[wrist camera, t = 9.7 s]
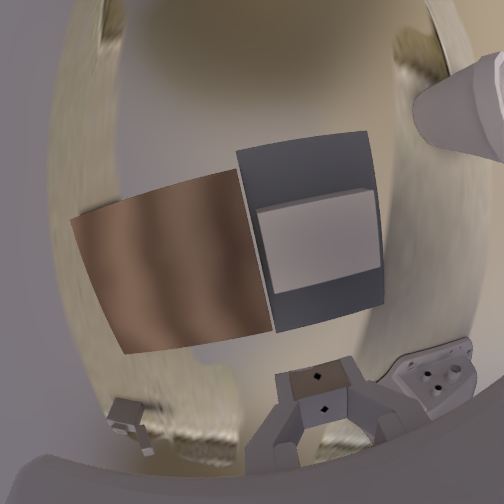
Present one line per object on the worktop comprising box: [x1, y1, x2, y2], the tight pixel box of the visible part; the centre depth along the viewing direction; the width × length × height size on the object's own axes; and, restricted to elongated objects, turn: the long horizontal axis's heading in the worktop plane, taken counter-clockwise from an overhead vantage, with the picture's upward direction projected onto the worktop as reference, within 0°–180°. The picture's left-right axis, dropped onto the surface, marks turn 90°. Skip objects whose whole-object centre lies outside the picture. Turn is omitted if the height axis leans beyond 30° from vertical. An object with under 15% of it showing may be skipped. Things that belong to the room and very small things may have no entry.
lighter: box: [106, 398, 154, 456], centre depth 27 cm, size 7×2×8 cm, turn 87°
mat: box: [236, 131, 384, 333], centre depth 25 cm, size 12×18×1 cm
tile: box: [255, 188, 380, 294], centre depth 23 cm, size 10×7×2 cm
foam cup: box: [413, 52, 504, 163], centre depth 16 cm, size 10×9×13 cm
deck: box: [70, 169, 272, 354], centre depth 24 cm, size 16×15×2 cm
